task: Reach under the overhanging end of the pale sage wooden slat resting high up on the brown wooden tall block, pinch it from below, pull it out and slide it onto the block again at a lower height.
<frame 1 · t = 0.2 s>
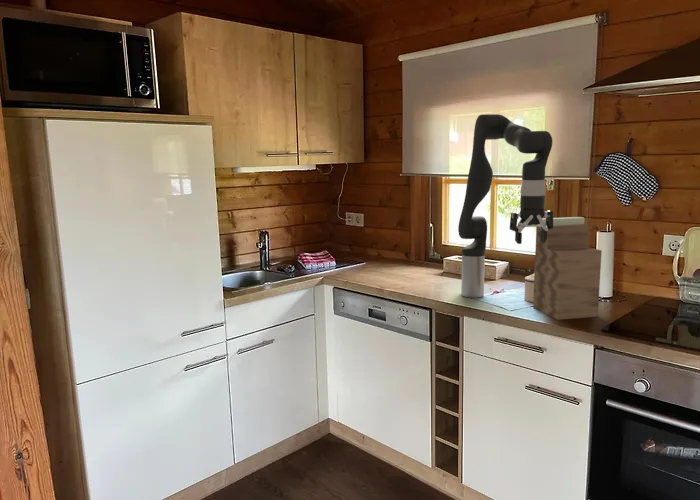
hand: (530, 242, 176), 29 cm above the worktop, tool pointing down, fingers open, 8 cm apart
brown wooden tall block: (564, 312, 196), on the worktop
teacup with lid: (536, 300, 215), on the worktop
sage slat: (552, 225, 194), point 32 cm above the worktop, touching brown wooden tall block
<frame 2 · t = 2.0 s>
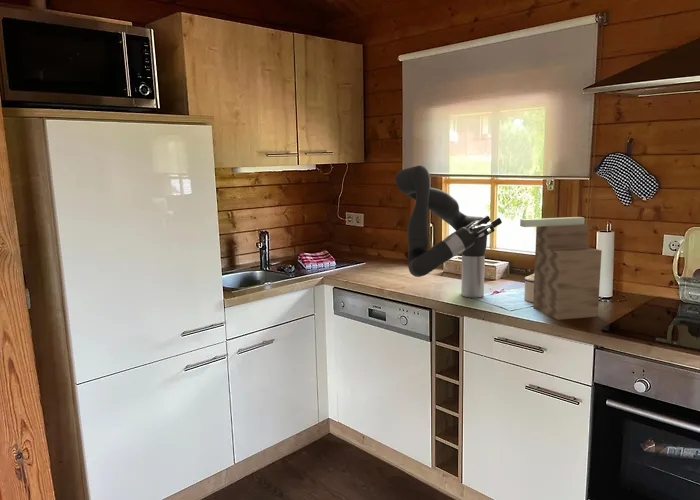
hand: (494, 218, 191), 35 cm above the worktop, tool pointing upward, fingers open, 8 cm apart
nothing on the worktop moved.
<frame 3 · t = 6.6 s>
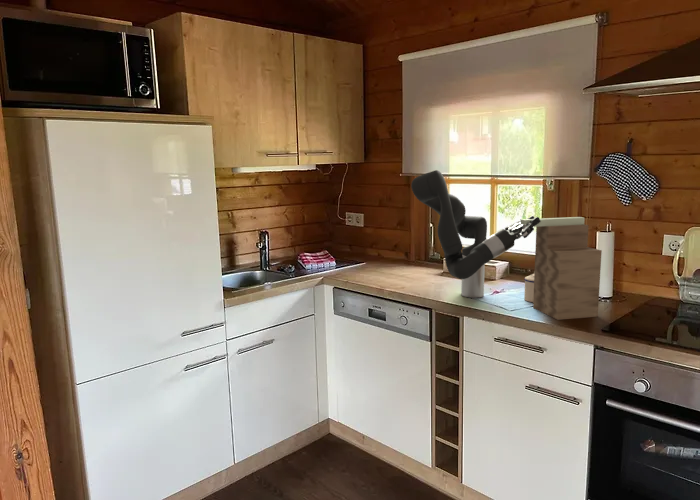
hand: (536, 218, 192), 35 cm above the worktop, tool pointing upward, fingers closed on sage slat, 3 cm apart
sage slat: (552, 225, 194), point 32 cm above the worktop, touching gripper, brown wooden tall block
everything else where it was.
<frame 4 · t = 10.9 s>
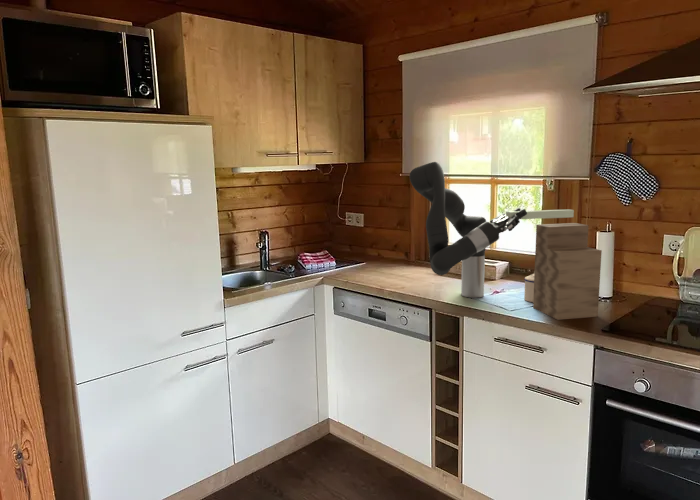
hand: (522, 210, 182), 39 cm above the worktop, tool pointing upward, fingers closed on sage slat, 3 cm apart
sage slat: (539, 218, 184), point 36 cm above the worktop, touching gripper
everything else where it was.
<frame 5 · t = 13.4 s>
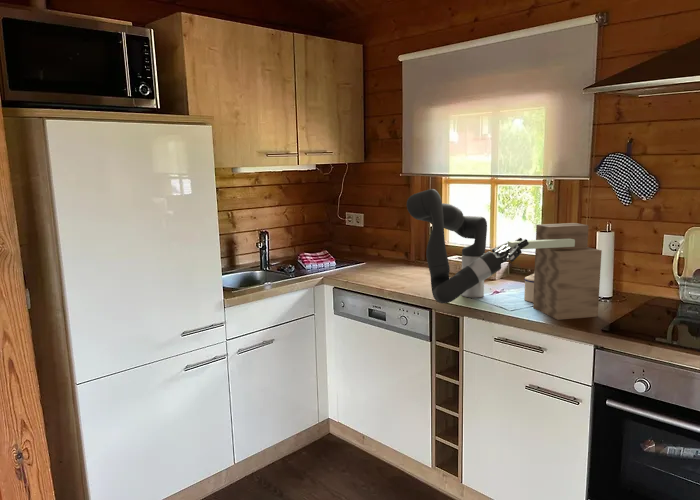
hand: (524, 240, 184), 28 cm above the worktop, tool pointing upward, fingers closed on sage slat, 3 cm apart
sage slat: (541, 247, 186), point 25 cm above the worktop, touching gripper
everything else where it was.
when the fingers open (28 cm above the worktop, at t = 15.6 s): sage slat drops 1 cm, resting on brown wooden tall block.
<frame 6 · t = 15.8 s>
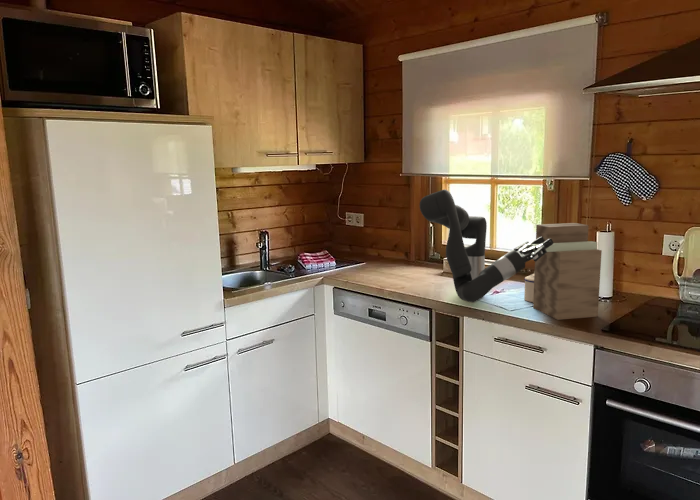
hand: (547, 239, 186), 28 cm above the worktop, tool pointing upward, fingers open, 5 cm apart
sage slat: (563, 250, 188), point 24 cm above the worktop, touching brown wooden tall block
everything else where it was.
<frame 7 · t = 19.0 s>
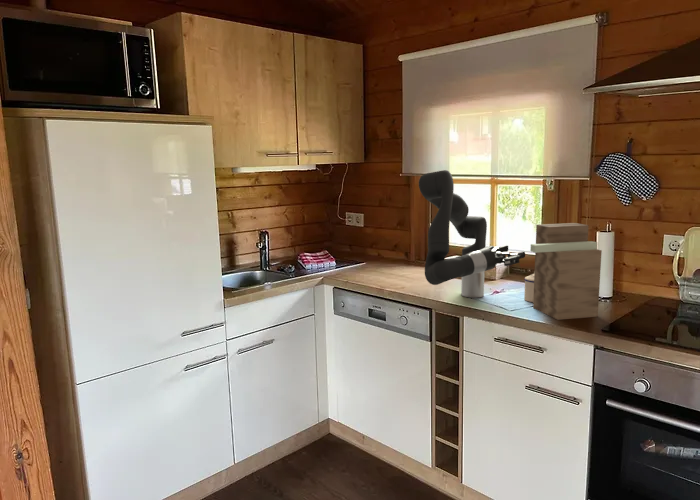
hand: (515, 251, 188), 24 cm above the worktop, tool horizontal, fingers open, 8 cm apart
nothing on the worktop moved.
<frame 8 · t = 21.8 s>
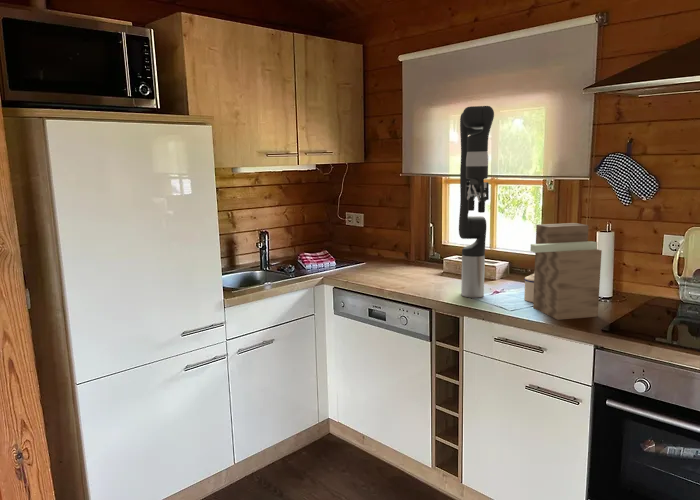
hand: (476, 211, 187), 38 cm above the worktop, tool pointing down, fingers open, 8 cm apart
nothing on the worktop moved.
at the end: sage slat inside the target area (0.1 cm from its centre), point 24.0 cm above the worktop; sage slat tilted 0°; the gripper is holding nothing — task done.
